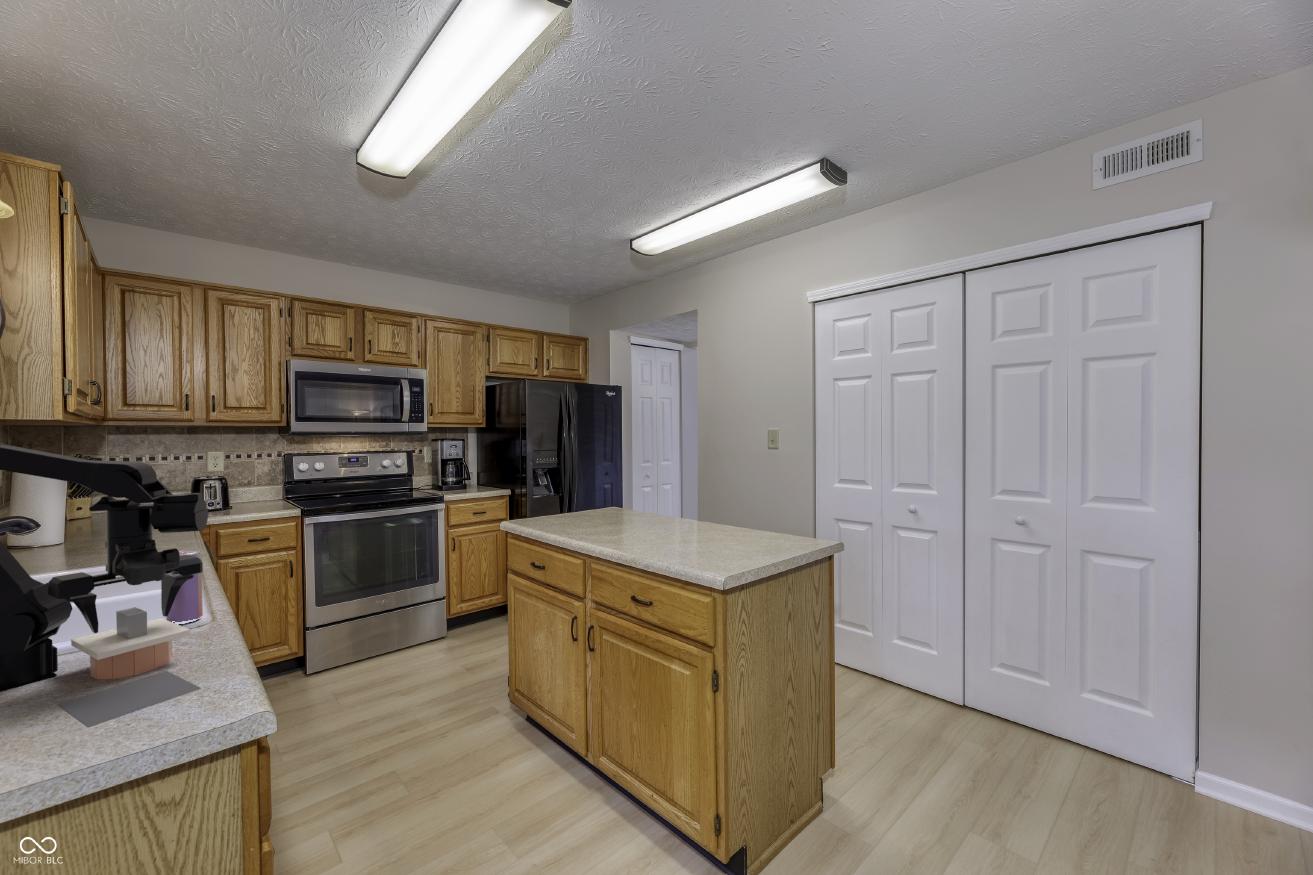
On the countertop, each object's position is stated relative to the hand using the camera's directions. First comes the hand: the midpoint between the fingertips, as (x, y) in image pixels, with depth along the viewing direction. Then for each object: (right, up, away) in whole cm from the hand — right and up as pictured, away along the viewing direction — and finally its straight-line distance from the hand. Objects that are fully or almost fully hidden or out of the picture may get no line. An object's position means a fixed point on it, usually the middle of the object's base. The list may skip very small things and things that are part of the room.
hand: (131, 624), depth 96 cm
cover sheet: (0, -3, 0) cm, 3 cm away
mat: (+10, -8, -11) cm, 17 cm away
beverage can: (-11, -8, +24) cm, 27 cm away
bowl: (0, -8, 0) cm, 8 cm away
